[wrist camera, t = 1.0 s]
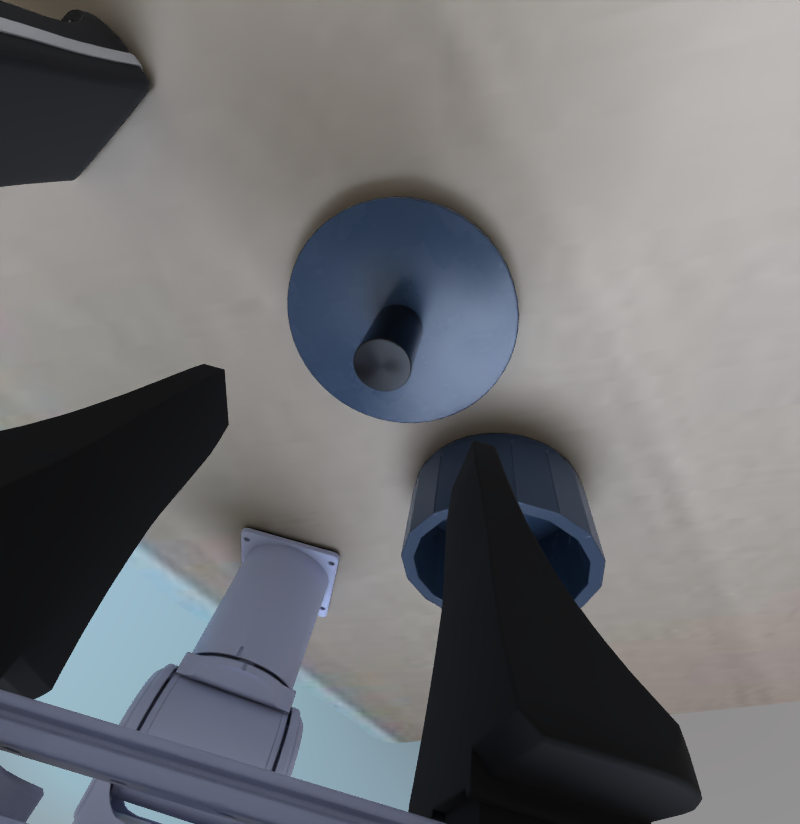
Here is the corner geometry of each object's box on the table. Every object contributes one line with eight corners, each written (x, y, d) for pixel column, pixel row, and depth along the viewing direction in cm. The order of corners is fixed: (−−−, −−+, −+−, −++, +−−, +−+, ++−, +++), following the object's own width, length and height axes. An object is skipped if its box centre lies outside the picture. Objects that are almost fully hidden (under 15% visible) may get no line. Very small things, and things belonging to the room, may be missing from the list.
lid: (473, 434, 23) (472, 497, 19) (289, 382, 24) (248, 434, 19) (557, 233, 17) (583, 263, 13) (303, 164, 17) (247, 171, 13)
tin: (539, 565, 29) (550, 642, 24) (400, 526, 29) (386, 595, 25) (615, 461, 23) (647, 537, 18) (439, 412, 23) (429, 476, 19)
